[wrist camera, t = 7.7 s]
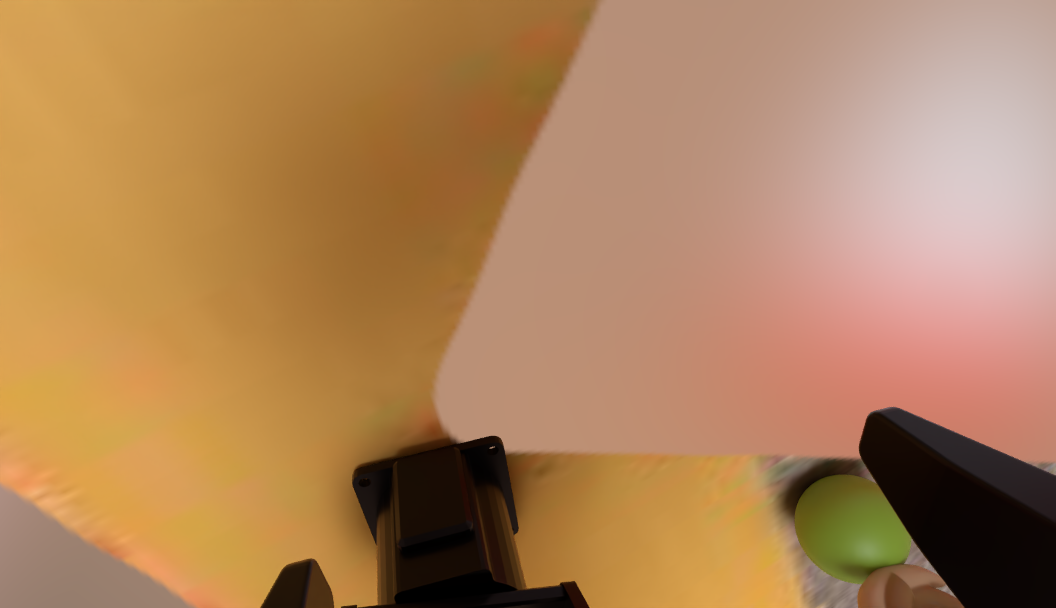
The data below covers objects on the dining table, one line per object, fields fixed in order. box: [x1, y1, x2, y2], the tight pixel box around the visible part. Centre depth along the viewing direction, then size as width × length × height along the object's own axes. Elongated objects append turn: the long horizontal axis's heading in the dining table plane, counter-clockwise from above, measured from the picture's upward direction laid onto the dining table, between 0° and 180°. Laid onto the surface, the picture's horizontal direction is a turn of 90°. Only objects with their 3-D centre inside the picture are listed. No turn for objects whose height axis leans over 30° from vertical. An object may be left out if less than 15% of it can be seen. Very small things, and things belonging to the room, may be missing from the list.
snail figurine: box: [795, 475, 964, 608], centre depth 29 cm, size 5×6×12 cm
